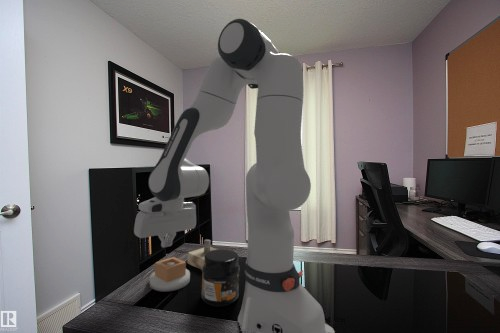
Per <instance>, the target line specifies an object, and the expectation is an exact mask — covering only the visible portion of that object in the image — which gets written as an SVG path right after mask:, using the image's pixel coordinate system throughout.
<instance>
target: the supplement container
mask: <svg viewBox="0 0 500 333" xmlns="http://www.w3.org/2000/svg"><path fill="white" fill-rule="evenodd" d="M216 249H217V248H216ZM204 263H205V264H204V265H203V267H202V270H201V272H202V277H201V278H202V279H201V299H202V300H203V302H204V303H206V305H209V306H212V307H220V308H221V307H227V306H230V305H231V304H233V303H235V302H236V301H237V299H238V298H239V294H240V292H239V288H240V284H239V282H240V270H241V268H240V265H239V253H237V251H234V250H232V249H226V248H225V249H224V248H223V249H221V248H219V249H217V250H212V251H209V252H207V253H206V254H205V256H204Z"/></svg>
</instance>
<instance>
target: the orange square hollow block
mask: <svg viewBox="0 0 500 333" xmlns="http://www.w3.org/2000/svg"><path fill="white" fill-rule="evenodd" d="M170 262H173V263H175V264H174V265H172V266H167V263H170ZM186 266H187V261H184V260H181V259H180V258H178V257H175V256H172V257H168V258H166V259H163V260H159V261H156V262H155V263H154V272H155V276H157V277H158V278H160V279H162V280H163V281H165V282H169V281H172V280H174V279H177V278H179V277H181V276H184V275H185V274H186V269H187V267H186Z"/></svg>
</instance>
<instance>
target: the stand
mask: <svg viewBox="0 0 500 333" xmlns="http://www.w3.org/2000/svg"><path fill="white" fill-rule="evenodd" d="M211 241H212V240H211V239H204V240H203V247H202V248H197V249H194V250H192V251H189V252H187V261H186V264H188V265H189V266H192V267H194V268H196V269H199V270H201V271H202V267H203V265H204V264H205V263H204V256H205V254H206V253H207V252H209V251H212V250H217V248H215V247H211Z"/></svg>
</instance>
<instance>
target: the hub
mask: <svg viewBox="0 0 500 333" xmlns="http://www.w3.org/2000/svg"><path fill="white" fill-rule="evenodd" d="M174 264H175V263H173V262H170V263H167V266H172V265H174ZM190 281H191V272H190V270H189V269H187V268H186V274H185V275H184V276H181V277H179V278H177V279H174V280H172V281H169V282H165V281H163V280H162V279H160V278H158V277H157V276H155V271H154V272H152V273H151V274H150V275H149V287H150V288H151V289H152V290H154V291H157V292H173V291H177V290H180V289H182V288H184V287H186V286H187V285H188V284H189V283H190Z"/></svg>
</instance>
